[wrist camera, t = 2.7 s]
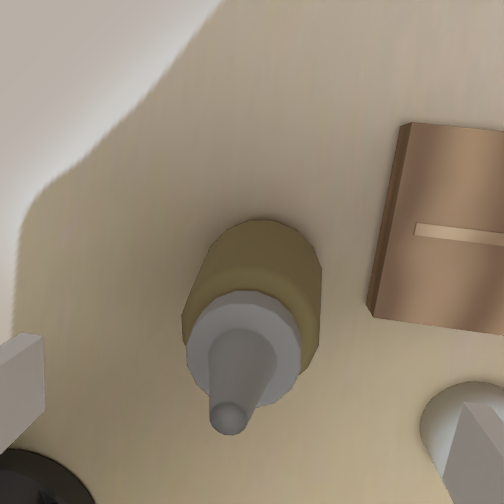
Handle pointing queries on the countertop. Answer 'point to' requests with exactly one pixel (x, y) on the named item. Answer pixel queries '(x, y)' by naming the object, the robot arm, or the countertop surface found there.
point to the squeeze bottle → (252, 319)
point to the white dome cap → (454, 416)
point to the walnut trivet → (443, 231)
